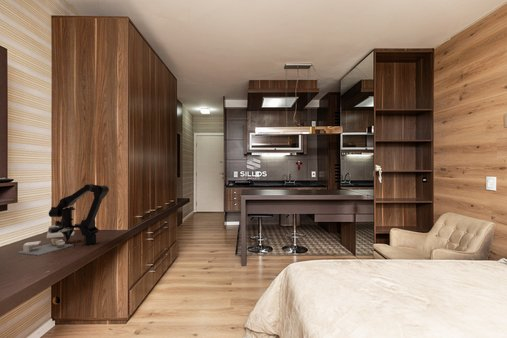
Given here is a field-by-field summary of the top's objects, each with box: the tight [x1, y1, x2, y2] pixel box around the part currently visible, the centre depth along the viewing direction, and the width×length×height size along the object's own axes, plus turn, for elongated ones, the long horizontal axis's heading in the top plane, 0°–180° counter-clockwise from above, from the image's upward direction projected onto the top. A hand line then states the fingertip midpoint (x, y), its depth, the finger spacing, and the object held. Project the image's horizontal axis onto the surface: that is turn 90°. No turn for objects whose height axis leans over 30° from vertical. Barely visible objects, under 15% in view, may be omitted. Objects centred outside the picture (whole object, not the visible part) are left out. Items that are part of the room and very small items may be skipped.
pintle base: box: [16, 239, 75, 257], centre depth 164 cm, size 18×21×5 cm
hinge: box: [46, 223, 76, 239], centre depth 199 cm, size 17×5×10 cm, turn 118°
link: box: [50, 237, 66, 247], centre depth 170 cm, size 15×4×3 cm, turn 53°
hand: (67, 241), depth 177 cm, fingers closed
